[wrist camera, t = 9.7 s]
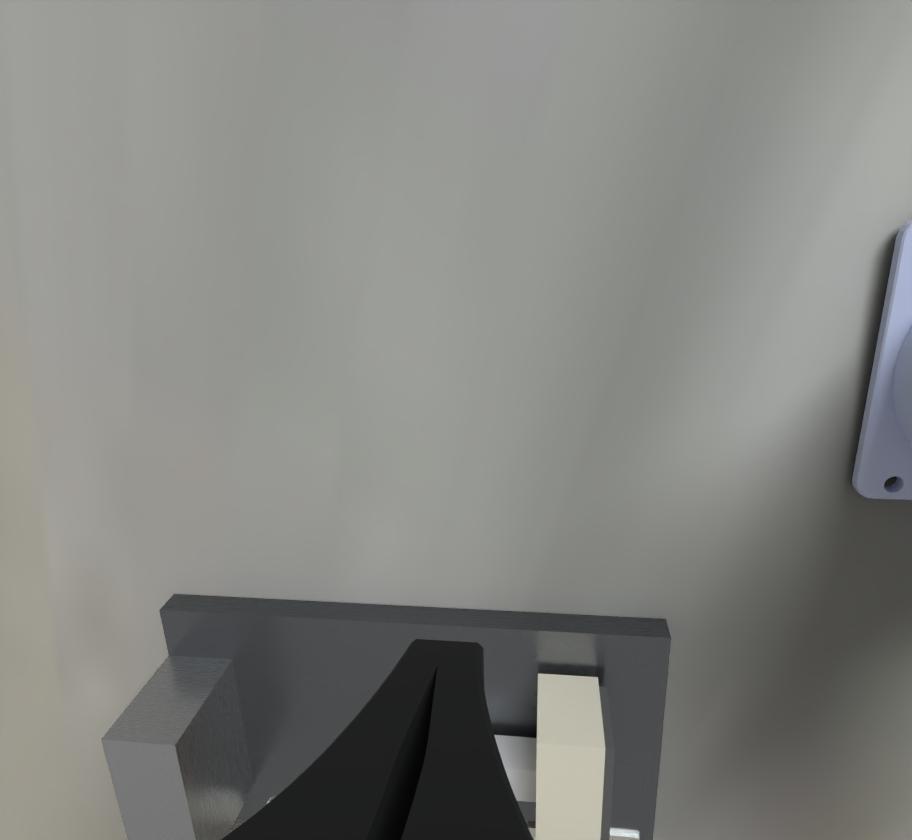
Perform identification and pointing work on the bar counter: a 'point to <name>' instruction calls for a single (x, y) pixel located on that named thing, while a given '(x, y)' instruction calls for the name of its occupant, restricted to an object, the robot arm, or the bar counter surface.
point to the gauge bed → (353, 700)
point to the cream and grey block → (566, 759)
